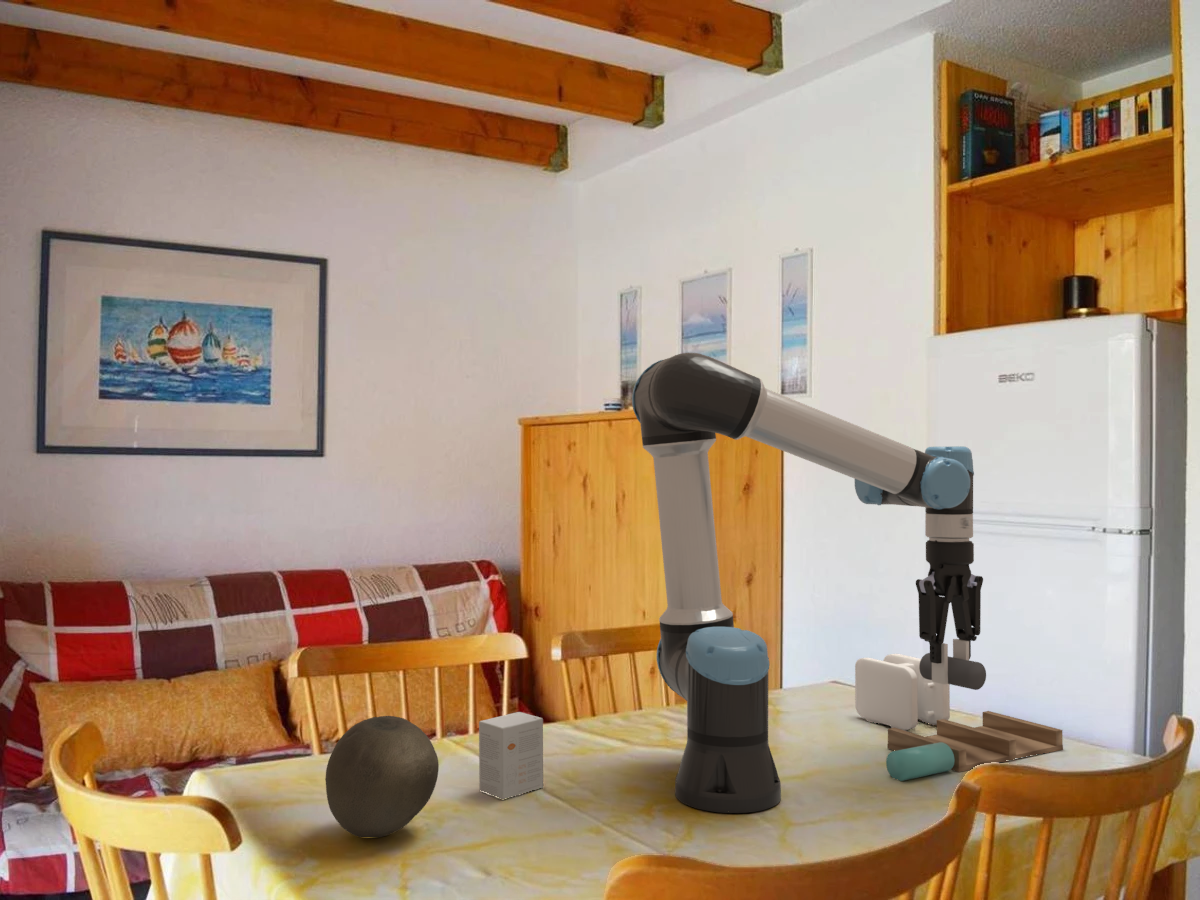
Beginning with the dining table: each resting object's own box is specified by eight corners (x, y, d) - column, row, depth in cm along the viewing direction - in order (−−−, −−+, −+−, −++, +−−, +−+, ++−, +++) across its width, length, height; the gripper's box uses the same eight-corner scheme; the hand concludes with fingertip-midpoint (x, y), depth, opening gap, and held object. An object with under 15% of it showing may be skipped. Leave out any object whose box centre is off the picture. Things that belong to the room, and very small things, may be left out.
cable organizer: (851, 717, 193) (850, 655, 193) (891, 710, 198) (891, 650, 198) (911, 735, 180) (910, 669, 180) (953, 728, 185) (952, 663, 185)
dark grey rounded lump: (335, 863, 123) (335, 738, 123) (318, 824, 136) (318, 711, 136) (449, 845, 128) (449, 725, 129) (422, 810, 141) (422, 701, 142)
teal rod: (910, 780, 152) (903, 750, 153) (889, 781, 156) (883, 752, 157) (957, 770, 157) (950, 741, 158) (936, 771, 161) (929, 743, 162)
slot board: (958, 772, 158) (958, 750, 158) (887, 748, 171) (887, 728, 171) (1062, 749, 170) (1062, 729, 171) (989, 729, 184) (989, 710, 184)
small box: (520, 780, 155) (519, 710, 155) (544, 788, 151) (544, 717, 151) (477, 792, 149) (477, 720, 149) (502, 801, 145) (502, 727, 145)
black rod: (926, 684, 172) (915, 663, 171) (941, 668, 174) (931, 647, 173) (974, 695, 163) (963, 673, 162) (989, 678, 165) (979, 656, 164)
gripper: (929, 543, 161) (930, 691, 161) (1004, 538, 169) (1005, 679, 169) (894, 540, 167) (895, 682, 167) (967, 535, 176) (968, 671, 176)
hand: (950, 680), depth 168 cm, fingers closed on black rod, 4 cm apart
